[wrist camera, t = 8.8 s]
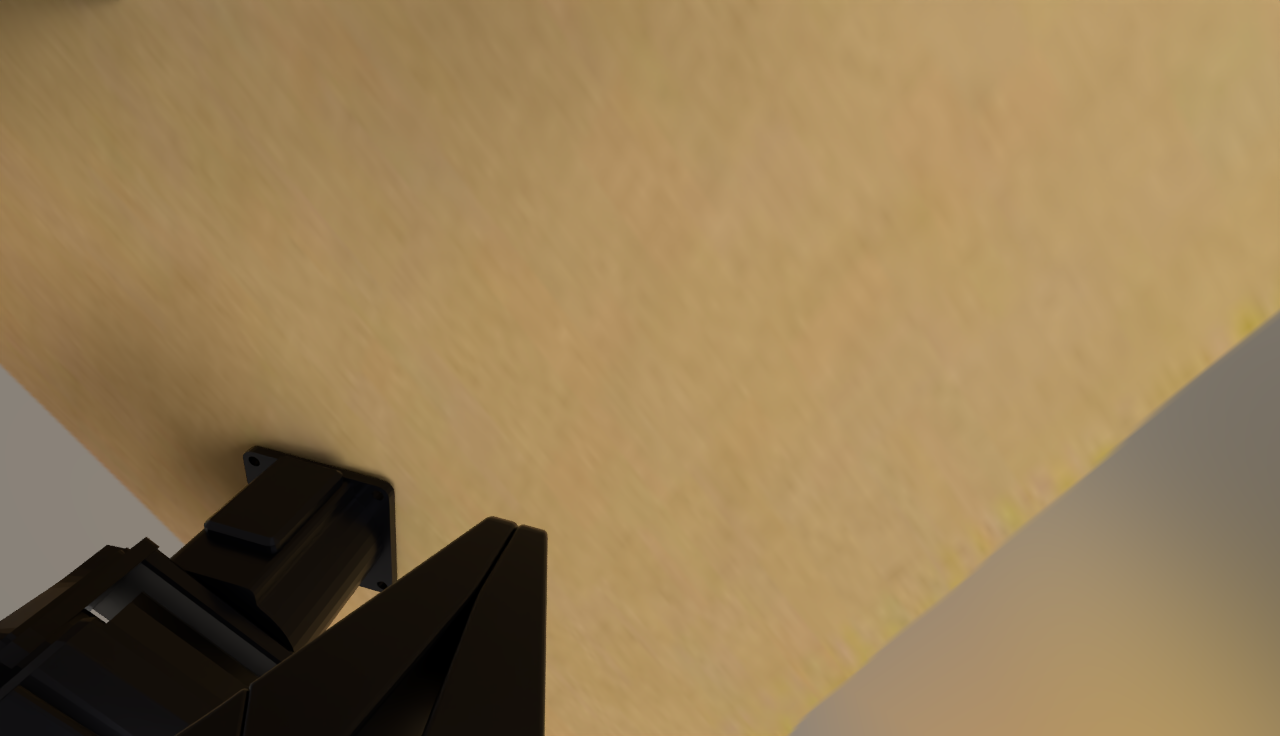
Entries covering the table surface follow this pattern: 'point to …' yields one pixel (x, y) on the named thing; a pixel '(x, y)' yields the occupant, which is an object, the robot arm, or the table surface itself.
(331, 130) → the table surface
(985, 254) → the table surface
